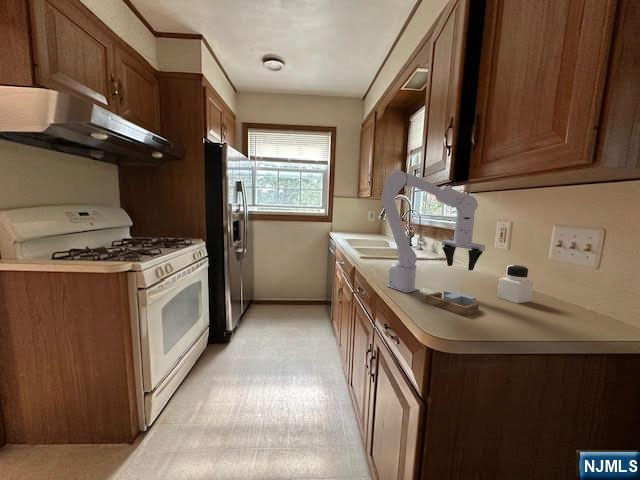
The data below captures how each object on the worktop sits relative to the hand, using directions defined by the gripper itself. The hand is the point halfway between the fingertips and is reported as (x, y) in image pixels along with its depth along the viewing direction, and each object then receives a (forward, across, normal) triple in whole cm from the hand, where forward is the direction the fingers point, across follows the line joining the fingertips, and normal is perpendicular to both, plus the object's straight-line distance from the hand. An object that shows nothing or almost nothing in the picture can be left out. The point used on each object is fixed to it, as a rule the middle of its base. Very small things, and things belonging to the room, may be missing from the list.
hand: (460, 267), depth 98 cm
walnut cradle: (+10, -6, +15) cm, 19 cm away
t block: (+10, -6, +12) cm, 16 cm away
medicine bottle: (+10, -13, -13) cm, 21 cm away
